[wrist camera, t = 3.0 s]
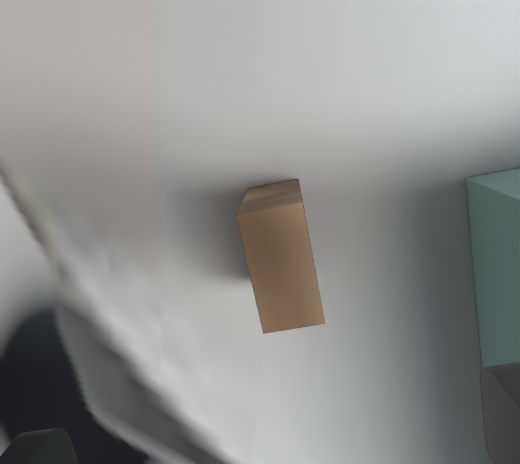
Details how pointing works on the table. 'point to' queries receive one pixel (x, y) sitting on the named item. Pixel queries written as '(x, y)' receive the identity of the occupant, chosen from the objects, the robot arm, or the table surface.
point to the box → (496, 263)
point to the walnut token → (280, 257)
